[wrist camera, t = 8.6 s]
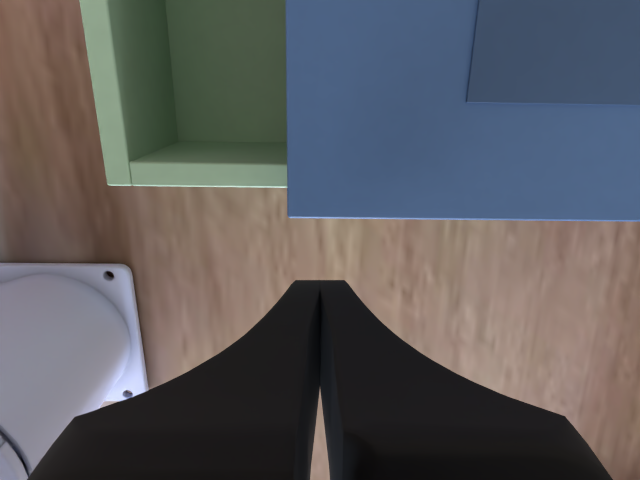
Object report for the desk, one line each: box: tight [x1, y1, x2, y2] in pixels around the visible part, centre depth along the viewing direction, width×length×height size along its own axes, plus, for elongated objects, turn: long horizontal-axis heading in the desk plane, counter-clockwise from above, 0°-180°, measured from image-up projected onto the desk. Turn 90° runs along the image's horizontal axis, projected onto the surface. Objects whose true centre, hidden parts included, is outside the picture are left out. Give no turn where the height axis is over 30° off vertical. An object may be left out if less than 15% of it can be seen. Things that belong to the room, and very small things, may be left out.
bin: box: [79, 0, 287, 188], centre depth 15 cm, size 16×12×6 cm
